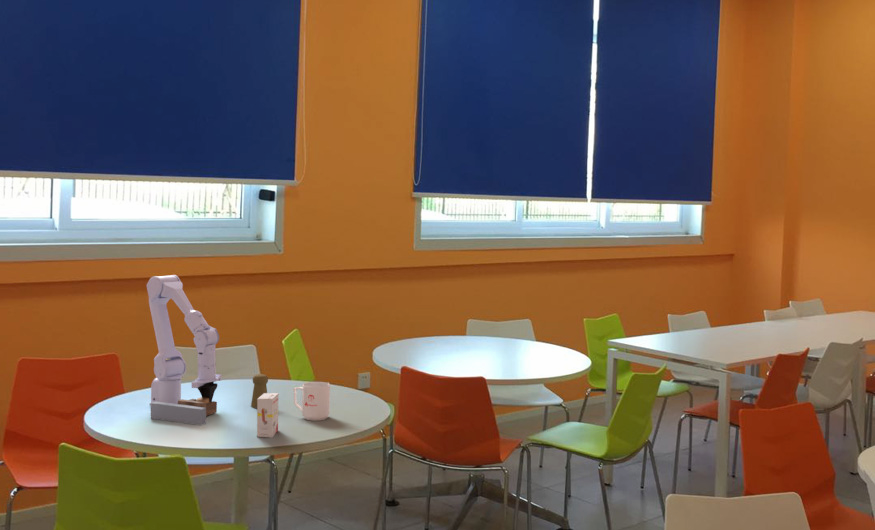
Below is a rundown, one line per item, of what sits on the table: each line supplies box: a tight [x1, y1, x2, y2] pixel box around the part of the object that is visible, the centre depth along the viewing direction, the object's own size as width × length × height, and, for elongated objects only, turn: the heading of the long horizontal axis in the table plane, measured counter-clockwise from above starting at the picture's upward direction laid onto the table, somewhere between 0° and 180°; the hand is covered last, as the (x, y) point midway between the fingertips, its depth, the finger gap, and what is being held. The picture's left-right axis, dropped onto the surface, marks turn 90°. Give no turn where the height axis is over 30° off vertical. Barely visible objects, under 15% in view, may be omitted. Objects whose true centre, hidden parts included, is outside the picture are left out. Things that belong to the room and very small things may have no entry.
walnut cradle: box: [178, 398, 218, 417], centre depth 294 cm, size 10×8×4 cm
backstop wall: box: [150, 401, 207, 426], centre depth 285 cm, size 19×2×5 cm, turn 70°
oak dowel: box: [196, 396, 209, 403], centre depth 297 cm, size 4×4×4 cm
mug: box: [293, 381, 331, 422], centre depth 294 cm, size 12×9×11 cm
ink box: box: [256, 392, 279, 438], centre depth 272 cm, size 9×5×12 cm, turn 177°
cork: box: [250, 373, 269, 409], centre depth 308 cm, size 6×6×11 cm
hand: (207, 405), depth 298 cm, fingers closed, pressing on oak dowel
